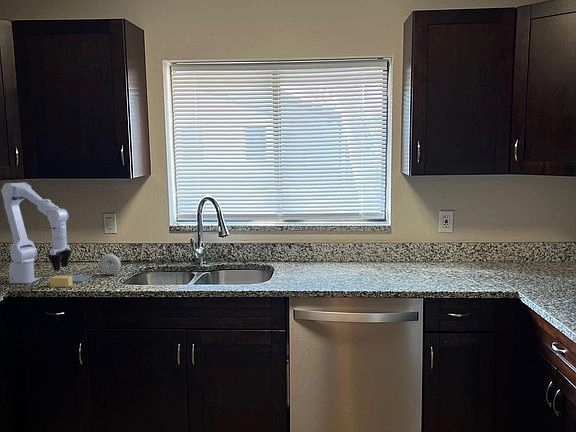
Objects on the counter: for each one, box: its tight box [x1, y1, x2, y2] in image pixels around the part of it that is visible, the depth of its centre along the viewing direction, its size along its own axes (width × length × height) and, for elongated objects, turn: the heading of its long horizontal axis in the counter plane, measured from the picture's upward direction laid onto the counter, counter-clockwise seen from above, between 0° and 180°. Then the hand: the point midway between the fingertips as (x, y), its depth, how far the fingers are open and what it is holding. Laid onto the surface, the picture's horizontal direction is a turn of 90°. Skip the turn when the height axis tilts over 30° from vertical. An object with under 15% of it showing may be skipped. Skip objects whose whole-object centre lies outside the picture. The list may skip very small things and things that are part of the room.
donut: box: [98, 253, 122, 276], centre depth 242 cm, size 10×4×10 cm, turn 92°
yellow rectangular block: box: [49, 275, 74, 288], centre depth 221 cm, size 8×4×4 cm, turn 90°
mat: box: [60, 274, 93, 284], centre depth 232 cm, size 14×12×1 cm
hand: (60, 268), depth 221 cm, fingers open, 7 cm apart
